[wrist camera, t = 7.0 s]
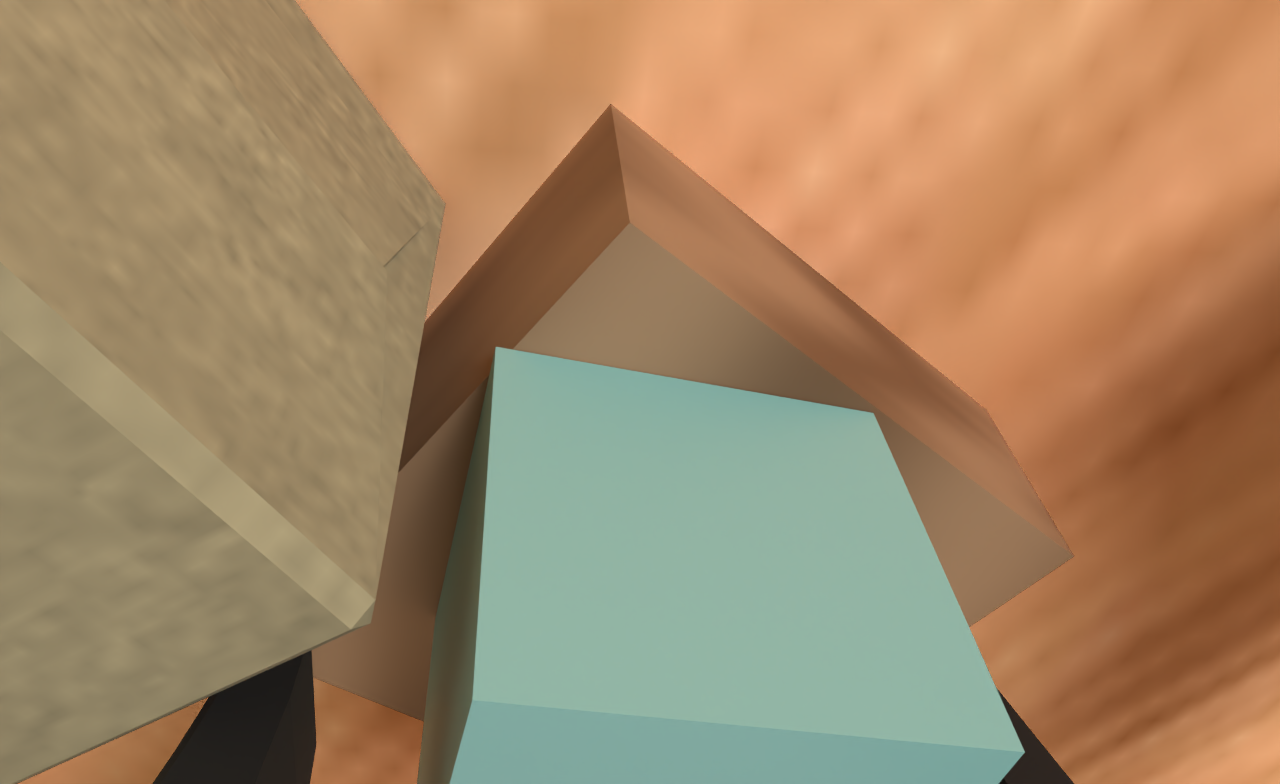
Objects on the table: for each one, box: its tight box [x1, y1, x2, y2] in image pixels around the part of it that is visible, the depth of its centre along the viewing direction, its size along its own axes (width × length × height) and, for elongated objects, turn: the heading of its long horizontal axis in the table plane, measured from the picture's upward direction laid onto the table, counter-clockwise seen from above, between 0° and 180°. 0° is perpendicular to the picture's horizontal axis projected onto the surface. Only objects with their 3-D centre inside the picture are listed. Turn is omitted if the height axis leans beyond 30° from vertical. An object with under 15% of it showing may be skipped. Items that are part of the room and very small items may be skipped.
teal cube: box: [417, 347, 1025, 784], centre depth 12 cm, size 5×5×5 cm
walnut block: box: [312, 104, 1074, 721], centre depth 16 cm, size 9×9×4 cm
